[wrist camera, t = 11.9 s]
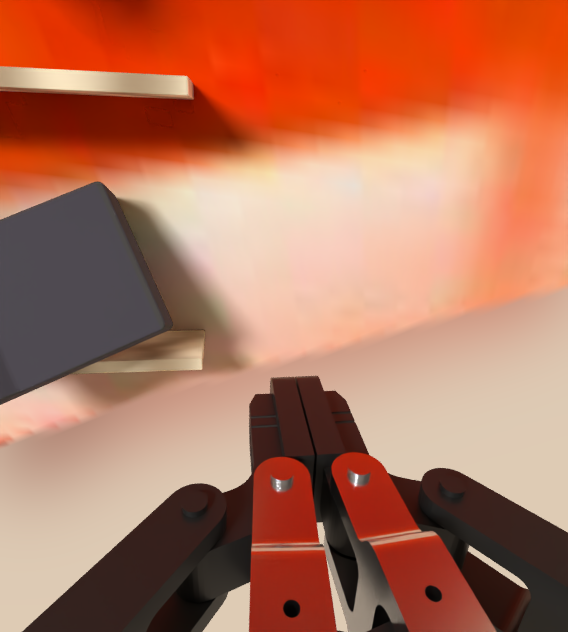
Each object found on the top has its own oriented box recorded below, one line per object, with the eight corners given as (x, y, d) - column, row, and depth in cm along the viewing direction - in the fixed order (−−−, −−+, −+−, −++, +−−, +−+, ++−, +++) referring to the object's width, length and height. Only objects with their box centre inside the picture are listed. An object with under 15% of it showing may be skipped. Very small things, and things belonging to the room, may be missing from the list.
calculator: (117, 195, 32) (-77, 275, 31) (97, 175, 28) (-129, 265, 27) (177, 327, 32) (-15, 412, 31) (166, 327, 28) (-57, 425, 27)
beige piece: (193, 83, 29) (187, 76, 25) (205, 340, 38) (202, 369, 33) (-147, 66, 27) (-222, 54, 22) (-55, 346, 35) (-96, 380, 30)
